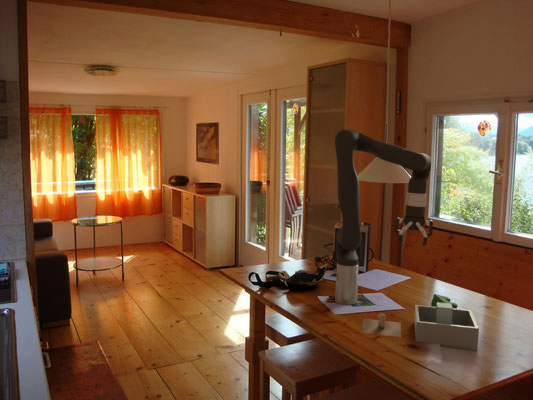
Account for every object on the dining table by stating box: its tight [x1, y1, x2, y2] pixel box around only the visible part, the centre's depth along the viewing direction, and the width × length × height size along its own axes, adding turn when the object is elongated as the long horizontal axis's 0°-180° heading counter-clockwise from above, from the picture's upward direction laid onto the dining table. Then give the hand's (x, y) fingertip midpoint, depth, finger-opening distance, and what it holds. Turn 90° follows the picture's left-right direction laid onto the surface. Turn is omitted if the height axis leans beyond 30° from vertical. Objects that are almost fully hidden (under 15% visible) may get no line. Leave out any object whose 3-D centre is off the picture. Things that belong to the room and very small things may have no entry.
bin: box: [413, 304, 480, 352], centre depth 169 cm, size 20×18×8 cm
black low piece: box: [277, 263, 329, 287], centre depth 231 cm, size 22×30×8 cm
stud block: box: [361, 313, 402, 338], centre depth 175 cm, size 14×14×6 cm
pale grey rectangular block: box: [436, 302, 453, 325], centre depth 169 cm, size 5×5×11 cm
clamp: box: [430, 293, 459, 309], centre depth 195 cm, size 12×6×9 cm, turn 176°
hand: (412, 245), depth 185 cm, fingers open, 8 cm apart
